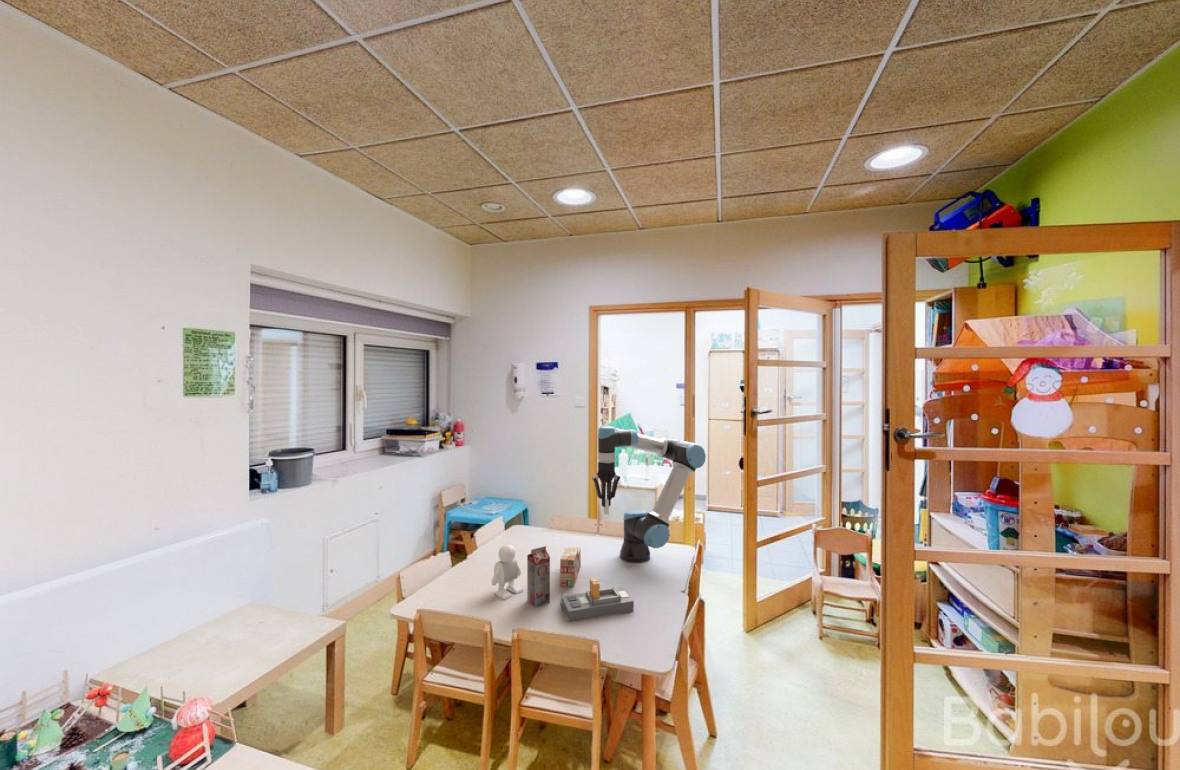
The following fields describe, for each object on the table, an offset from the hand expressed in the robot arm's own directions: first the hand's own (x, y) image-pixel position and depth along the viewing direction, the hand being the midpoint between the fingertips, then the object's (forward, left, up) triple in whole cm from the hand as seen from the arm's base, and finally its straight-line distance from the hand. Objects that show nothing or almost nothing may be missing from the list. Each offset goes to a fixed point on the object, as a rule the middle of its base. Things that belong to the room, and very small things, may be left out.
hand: (606, 513), depth 204 cm
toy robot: (+44, 0, -30) cm, 53 cm away
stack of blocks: (+14, -7, -30) cm, 34 cm away
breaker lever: (+13, +24, -25) cm, 37 cm away
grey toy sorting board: (+12, +24, -29) cm, 40 cm away
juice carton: (+33, +12, -30) cm, 46 cm away
